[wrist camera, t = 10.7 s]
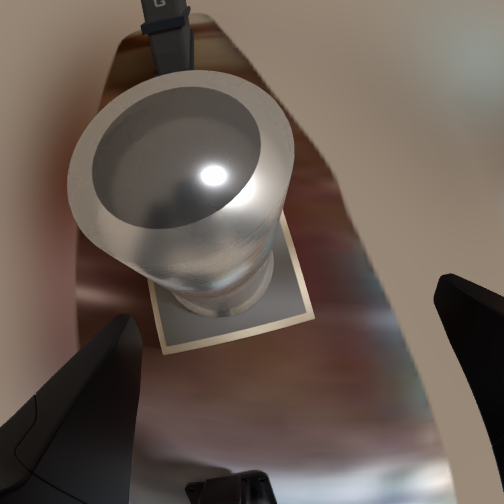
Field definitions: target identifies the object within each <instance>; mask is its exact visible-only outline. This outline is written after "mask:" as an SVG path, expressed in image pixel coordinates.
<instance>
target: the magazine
mask: <svg viewBox="0 0 504 504" xmlns="http://www.w3.org/2000/svg"><path fill="white" fill-rule="evenodd" d="M141 3H142V8H143V13H144V18H145V23H143V24H142V25H141V30H142V34H143V35H145V34H148V38H149V42H150V46H151V51H152V55H153V58H154V62H155V66H156V70H155V75H154V78H155V77H158V76H161V75H165V74H169V73H174V72H181V71H191V70H194V30H193V29H190V25H189V19H188V16H189V13H190V6H188V7H187V5H186V0H141Z"/></svg>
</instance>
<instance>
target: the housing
mask: <svg viewBox="0 0 504 504" xmlns="http://www.w3.org/2000/svg"><path fill="white" fill-rule="evenodd" d="M293 162H294V140H293V134H292V131H291V128H290V125H289V122H288V120H287V118H286V116H285V114H284V112H283V111H282V109H281V108H280V107H279V105H278V104H277V103H276V101H275V100H273V99H272V98H271V97H270V96H269V95H268V94H267V93H266V92H265V91H263V90H262V89H261V88H259V87H258V86H256V85H254V84H252V83H251V82H249V81H247V80H244V79H242V78H239V77H237V76H234V75H230V74H226V73H222V72H216V71H205V70H191V71H181V72H174V73H169V74H165V75H161V76H158V77H155V78H152V79H149V80H147V81H145V82H142V83H140V84H138V85H136V86H134V87H132V88H130V89H128V90H127V91H125V92H124V93H122V94H121V95H119V96H118V97H116V98H115V99H114V100H112V101H111V102H110V103H109V104H108V105H106V106H105V107H104V108H103V109H102V110H101V111H100V112H99V113H98V114H97V115H96V116H95V118H94V119H93V120H92V121H91V122H90V124H89V125H88V126H87V128H86V129H85V131H84V132H83V134H82V136H81V138H80V139H79V141H78V143H77V145H76V148H75V150H74V152H73V155H72V159H71V162H70V166H69V171H68V179H67V193H68V200H69V205H70V208H71V211H72V214H73V217H74V219H75V221H76V223H77V225H78V226H79V228H80V229H81V231H82V232H83V233H84V235H85V236H86V237H87V238H88V239H89V240H90V241H91V242H92V243H93V244H94V245H96V246H97V247H98V248H100V249H101V250H103V251H104V252H106V253H108V254H109V255H111V256H112V257H114V258H116V259H117V260H119V261H120V262H122V263H124V264H125V265H127V266H128V267H130V268H132V269H133V270H135V271H137V272H138V273H140V274H142V275H143V276H145V277H147V278H148V279H150V280H152V281H154V282H155V283H157V284H159V285H160V286H162V287H164V288H166V289H167V290H169V291H171V292H172V293H173V295H174V296H175V297H176V298H177V300H178V301H179V302H180V303H181V304H182V305H184V306H185V307H186V308H188V309H190V310H191V311H193V312H195V313H198V314H200V315H203V316H207V317H212V318H226V317H232V316H235V315H238V314H240V313H243V312H245V311H246V310H248V309H250V308H251V307H252V306H253V305H255V304H256V303H257V302H258V301H259V300H260V299H261V297H262V296H263V295H264V293H265V292H266V290H267V288H268V286H269V283H270V280H271V277H272V273H273V267H274V258H273V251H272V248H273V244H274V240H275V236H276V232H277V229H278V225H279V221H280V217H281V213H282V209H283V205H284V201H285V197H286V193H287V189H288V185H289V181H290V177H291V173H292V168H293Z"/></svg>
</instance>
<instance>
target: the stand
mask: <svg viewBox="0 0 504 504" xmlns="http://www.w3.org/2000/svg"><path fill="white" fill-rule="evenodd" d="M272 251H273V258H274V267H273V273H272V277H271V280H270V283H269V286H268V288H267V290H266V292H265V293H264V295H263V296H262V297H261V299H260V300H259V301H258V302H257V303H256V304H255V305H253V306H252V307H251V308H250V309H248V310H246V311H245V312H243V313H240V314H238V315H235V316H232V317H226V318H212V317H207V316H203V315H200V314H198V313H195V312H193V311H191V310H190V309H188V308H186V307H185V306H184V305H182V304H181V303H180V302H179V301H178V300H177V298H176V297H175V296H174V295H173V293H172V292H171V291H169V290H167V289H166V288H164V287H162V286H160V285H159V284H157V283H155V282H154V281H152V280H150V279H148V278H147V280H148V286H149V291H150V297H151V302H152V307H153V312H154V317H155V322H156V327H157V331H158V336H159V340H160V345H161V349H162V353H163V355H167V354H172V353H177V352H182V351H187V350H192V349H197V348H202V347H206V346H211V345H215V344H220V343H224V342H228V341H233V340H237V339H241V338H245V337H249V336H253V335H257V334H261V333H265V332H269V331H272V330H276V329H280V328H283V327H287V326H291V325H294V324H298V323H301V322H305V321H308V320H311V319H315V317H314V314H313V310H312V306H311V303H310V299H309V296H308V292H307V289H306V285H305V282H304V278H303V275H302V272H301V268H300V265H299V262H298V258H297V255H296V252H295V248H294V245H293V242H292V238H291V235H290V232H289V229H288V226H287V222H286V219H285V216H284V213H283V210H282V213H281V217H280V221H279V225H278V229H277V232H276V236H275V240H274V244H273V248H272Z"/></svg>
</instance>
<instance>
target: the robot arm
mask: <svg viewBox="0 0 504 504" xmlns="http://www.w3.org/2000/svg"><path fill="white" fill-rule="evenodd" d="M434 304H435V307H436V309H437V311H438V314H439V316H440V318H441V321H442V324H443V326H444V329H445V331H446V334H447V336H448V339H449V341H450V344H451V346H452V348H453V350H454V352H455V354H456V356H457V358H458V360H459V363H460V365H461V367H462V369H463V372H464V374H465V376H466V378H467V381H468V383H469V385H470V388H471V390H472V393H473V395H474V398H475V400H476V403H477V405H478V408H479V410H480V413H481V416H482V419H483V421H484V424H485V427H486V430H487V433H488V436H489V439H490V442H491V445H492V449H493V453H494V456H495V460H496V463H497V467H498V471H499V475H500V479H501V483H502V488H503V492H504V297H503V296H501V295H499V294H497V293H494V292H492V291H490V290H488V289H486V288H484V287H482V286H479V285H477V284H475V283H473V282H471V281H468V280H466V279H464V278H462V277H459V276H457V275H454V274H451V273H450V274H445V275H442V276H441V277H440V278H439V282H438V284H437V288H436V291H435V294H434ZM141 359H142V336H141V334H140V331H139V329H138V327H137V324H136V322H135V319H134V317H133V316H132V315H130V314H124V315H117V316H116V317H115V318H114V319H113V320H111V321H110V322H109V323H108V324H107V325H106V326H105V327H104V328H103V329H102V330H101V331H100V332H98V333H97V334H96V335H95V336H94V337H93V338H92V339H91V340H90V341H89V342H88V343H87V344H86V345H85V346H84V347H82V348H81V349H80V350H79V351H78V352H77V353H76V354H75V355H74V356H73V357H72V358H71V359H70V360H69V361H68V362H67V363H66V364H65V365H64V366H63V367H62V368H61V369H60V370H59V371H58V372H57V373H56V374H54V376H52V377H51V378H50V379H49V380H48V381H47V382H46V383H45V384H44V385H43V386H42V387H41V388H40V389H39V391H37V392H36V395H33V396H32V397H31V399H29V400H28V401H27V403H26V404H24V405H23V406H22V407H21V408H20V410H18V411H17V412H16V413H15V414H14V415H13V416H12V417H11V418H10V419H9V420H8V421H7V422H6V423H5V424H3V425H2V426H1V427H0V504H128V501H129V484H130V471H131V460H132V450H133V440H134V432H135V424H136V416H137V409H138V402H139V394H140V380H141ZM260 477H264V478H265V479H263V480H260V479H259V478H260ZM189 488H194V490H191V489H189ZM185 491H186V493H187V496H188V498H189V500H190V503H191V504H277V501H276V498H275V495H274V492H273V489H272V486H271V483H270V480H269V477H268V475H267V474H266V473H263V472H260V473H255V474H250V475H245V476H238V475H235V476H229V477H222V478H215V479H208V480H206V481H205V482H195V483H188V484H187V485H186V487H185Z"/></svg>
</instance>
